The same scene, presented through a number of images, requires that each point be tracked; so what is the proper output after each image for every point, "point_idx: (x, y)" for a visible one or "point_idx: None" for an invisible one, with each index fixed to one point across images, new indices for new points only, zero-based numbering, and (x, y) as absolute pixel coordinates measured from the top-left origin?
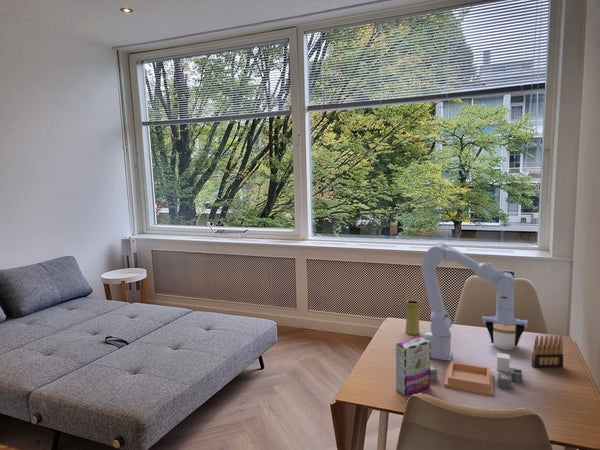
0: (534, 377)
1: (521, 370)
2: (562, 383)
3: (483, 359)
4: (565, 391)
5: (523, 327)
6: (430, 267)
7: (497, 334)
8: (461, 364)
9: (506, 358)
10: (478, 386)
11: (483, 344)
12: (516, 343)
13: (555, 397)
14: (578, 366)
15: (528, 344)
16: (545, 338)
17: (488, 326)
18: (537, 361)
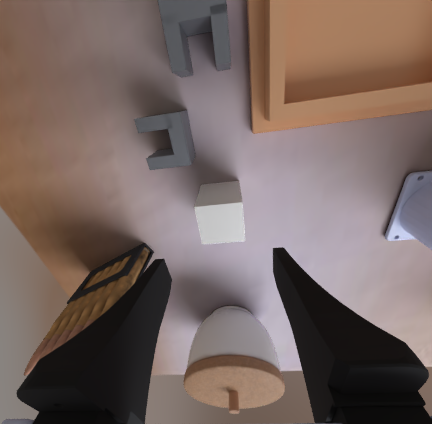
0: (127, 184)
1: (147, 160)
2: (52, 182)
3: (281, 236)
4: (19, 126)
5: (40, 410)
6: None
7: (250, 345)
8: (410, 86)
9: (206, 206)
10: None
11: (278, 312)
12: (151, 268)
13: (15, 46)
14: (67, 287)
15: (183, 338)
16: None
17: (404, 362)
18: (130, 259)
